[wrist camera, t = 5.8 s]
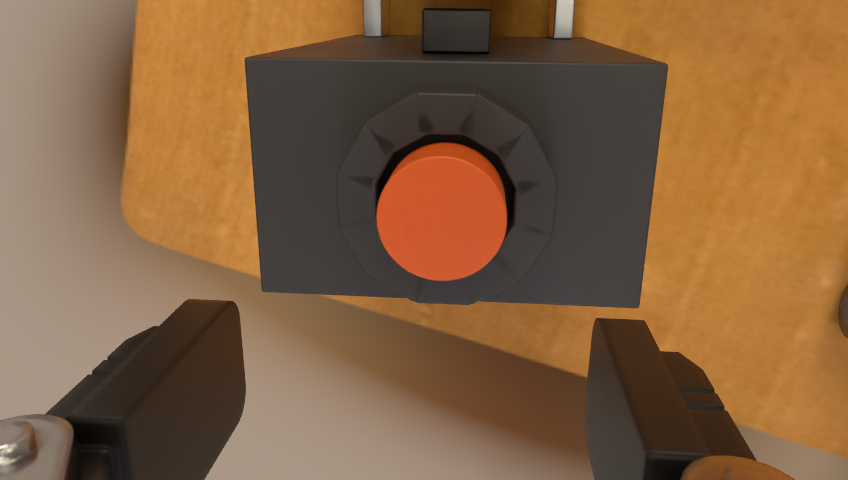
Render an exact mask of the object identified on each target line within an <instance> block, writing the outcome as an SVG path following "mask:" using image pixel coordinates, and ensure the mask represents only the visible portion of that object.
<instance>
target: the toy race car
mask: <svg viewBox="0 0 848 480" xmlns="http://www.w3.org/2000/svg"><path fill="white" fill-rule="evenodd" d="M839 324H840V328H841V330H842V332H843V334H844V335H845V336H846V337H847V338H848V287H847V289H846V290H845V292H844V295H843V297H842V300H841V303H840V307H839Z"/></svg>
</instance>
